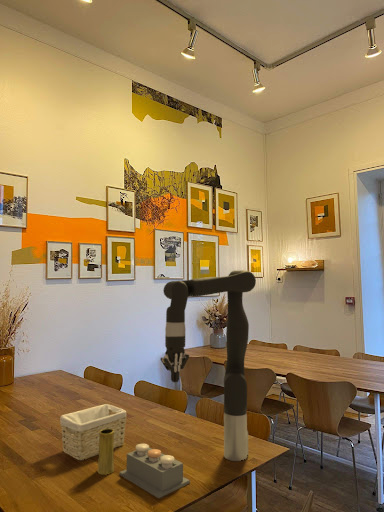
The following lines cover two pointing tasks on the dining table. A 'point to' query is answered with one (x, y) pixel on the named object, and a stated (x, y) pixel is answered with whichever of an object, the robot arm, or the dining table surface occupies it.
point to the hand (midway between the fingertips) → (175, 381)
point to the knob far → (142, 449)
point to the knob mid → (154, 455)
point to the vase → (106, 452)
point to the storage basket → (91, 429)
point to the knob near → (167, 461)
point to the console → (154, 474)
